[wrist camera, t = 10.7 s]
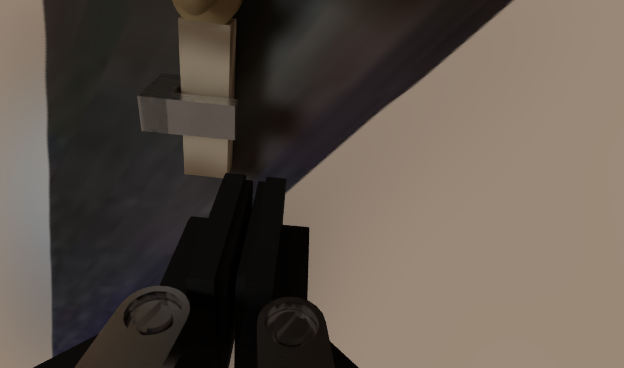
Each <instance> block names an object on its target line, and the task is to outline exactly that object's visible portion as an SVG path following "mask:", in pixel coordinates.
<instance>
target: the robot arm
mask: <svg viewBox="0 0 624 368" xmlns="http://www.w3.org/2000/svg"><path fill="white" fill-rule="evenodd" d="M285 189H286V179H284V178H274V177H267V178H266V182H262V181H259V182H258V186H257V190H256V195H255V199H254V203H253V207H252V201H253V181H251V180H246V175H243V174H232V173H225V175H224V178H223V180H222V183H221V186H220V188H219V191H218V194H217V196H216V199H215V202H214V204H213V207H212V210H211V212H210V215H209V218H202V217H190V219H189V220H188V222H187V225H186V227H185V229H184V231H183V234H182V236H181V238H180V240H179V243H178V245H177V247H176V250H175V252H174V254H173V256H172V259H171V261H170V263H169V265H168V268H167V270H166V272H165V274H164V277H163V279H162V281H161V284H160V286H153V287H147V288H145V289H142V290H139V291H137V292H135V293H134V294H132V295H130V296H129V297H127V298H126V299H125V300H124V301H123V303H122V304H121V305H120V306H119V307H118V309H117V310H116V311H115V313H114V314H113V315H112V317H111V318H110V320H109V321H108V322H107V324H106V325H105V326H104V328H103V329H102V331H101V332H100V333H99V334H97V335H95V336H94V337H92V338H90V339H88V340H86V341H84V342H82V343H80V344H78V345H76V346H74V347H72V348H70V349H68V350H66V351H65V352H63V353H61V354H59V355H57V356H55V357H53V358H51V359H49V360H47V361H45V362H43V363H41V364H39V365H38V366H36V367H34V368H228V367H229V363H230V359H231V353H232V349H233V344H234V339H235V364H234V365H235V367H234V368H358V367H357V366H356V365H355V364H354V363H353V362H352V361H351V360H350V359H349V358H348V357H346V356H345V355H344V354H343V353H342V352H341V351H340V350H339V349H338V348H337V347H335V346H334V345H333V344H332V343H331V342H330V340H329V335H328V330H327V326H326V321H325V319H324V316H323V313H322V312H321V311H320V310H319V309H318V307H317V306H316V305H314V304H313V303H311V302H310V301H308V300H307V291H308V257H309V227H301V226H289V225H283V213H284V201H285Z"/></svg>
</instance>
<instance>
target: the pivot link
mask: <svg viewBox="0 0 624 368" xmlns="http://www.w3.org/2000/svg"><path fill="white" fill-rule="evenodd" d="M172 1H173V4H174V6H175V8H176V10H177V11H178V13H179V14H180V15H181V17H180V18H178V28H179V52H180V76H181V93H182V94H192V95H201V96H211V97H221V98H230V99H234V84H235V50H236V19H235V18H232V17H233V16H234V15H235V14H236V12H237V11H238V10H239V8H240V6H241V3H242V0H172ZM183 146H184V170H185V174H191V175H199V176H208V177H217V178H224V175H225V173H229V172H230V169H231V166H232V154H233V140H227V139H217V138H207V137H197V136H187V135H183Z"/></svg>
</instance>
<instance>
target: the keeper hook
mask: <svg viewBox="0 0 624 368" xmlns="http://www.w3.org/2000/svg"><path fill="white" fill-rule="evenodd" d="M137 97H138V105H139V113H140V121H141V129H142V131H147V132H157V133H167V134H177V135H187V136H197V137H207V138H217V139H227V140H235V138H236V136H237V133H238V99H230V98H221V97H211V96H201V95H192V94H182V93H181V76H177V75H168V74H160V75H159V76H158V77H157V78H156V79H155V80H154V81H153V82H152V83H151V84H150V85H148V86H147V87H146V88H145V89H144V90H143V91H142V92H141V93H140V94H139V95H138V96H137Z"/></svg>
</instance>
